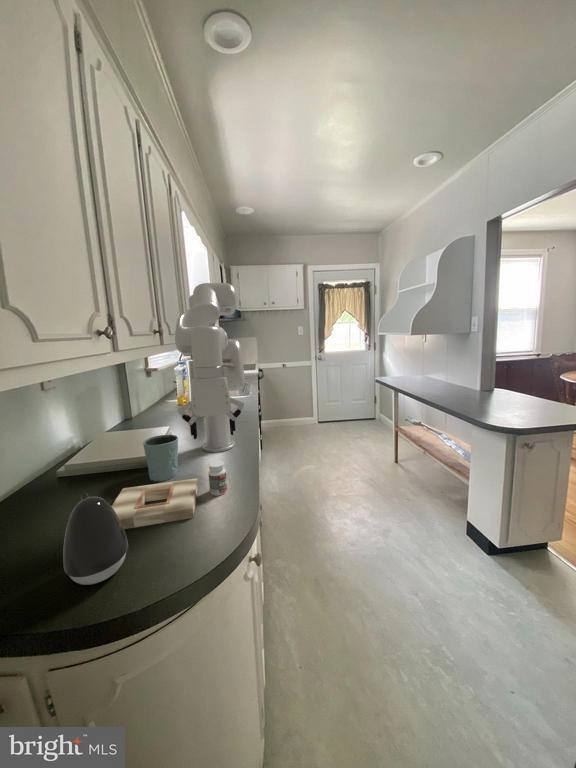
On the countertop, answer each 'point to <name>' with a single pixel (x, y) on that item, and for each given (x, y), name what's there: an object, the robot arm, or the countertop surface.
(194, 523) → the countertop surface
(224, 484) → the pill bottle
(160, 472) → the blue green cup
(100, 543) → the dark rounded oval
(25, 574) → the countertop surface
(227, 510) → the countertop surface
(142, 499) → the socket plate
